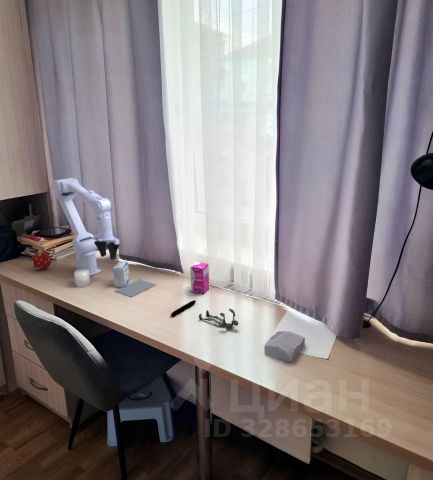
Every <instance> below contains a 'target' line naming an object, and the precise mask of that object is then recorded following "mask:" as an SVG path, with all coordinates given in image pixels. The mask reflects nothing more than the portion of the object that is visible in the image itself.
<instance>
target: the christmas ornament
mask: <svg viewBox="0 0 433 480" xmlns="http://www.w3.org/2000/svg"><path fill="white" fill-rule="evenodd" d="M51 264H52V257H51V256H50V254H49V253H47V252H45V251H42V250H41V249H38V252H35V253H34V254H33V255H32V257H31V265H32V267H33V268H35V269H36V270H39V271H44V270H46V269H48V268H49V267H50V266H51Z"/></svg>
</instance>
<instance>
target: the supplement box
mask: <svg viewBox="0 0 433 480" xmlns="http://www.w3.org/2000/svg"><path fill="white" fill-rule="evenodd" d="M209 270H210V268H209V263H206V262H199V261H195V262H194V263H193V264H191V265H190V266H189V272H190V274H189V275H190V292H191V293H194V294H200V295H205V293H207V292H208V291H209V290H210V277H209V276H210V275H209V274H210V272H209Z"/></svg>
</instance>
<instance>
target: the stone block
mask: <svg viewBox="0 0 433 480" xmlns="http://www.w3.org/2000/svg"><path fill="white" fill-rule="evenodd" d="M305 341H306V338H305V336H303V335H301V334H298V333H297V332H296V333H295V332H292V331H290V330H289V331H287V330H286V331H285V330H281V331H280V330H279V331H277V332H275V333H274V334H273V335H271V337H270V338H269V339H268V340H267V341H266V343H265V344H264V352H265V355H266V356H268V357H270V358H273V359H277V360H280V361H284V362H287V363H292V362H293V361H294V360H295V358H296V357H297V355H298V354H299V353H300V351H301V350H302V348H303V347H304V346H305V344H306V343H305Z"/></svg>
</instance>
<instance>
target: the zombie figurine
mask: <svg viewBox="0 0 433 480" xmlns="http://www.w3.org/2000/svg"><path fill="white" fill-rule="evenodd" d="M228 311H229V312H230V313H232V320H231V322H230V323H227V321H226V314H225V313H223V312H220V313H219V315H220V316H221V317H222V318H221V317H220V316H218V315H212V314H210V312H209V310H208V309H206V311H205V314H206V315H205V316H206V317H207V318H206V317H204V318H203V317H202V313H200V314H198V319H199V321H209V322H211V321H213V322H215V323H216V324H218V326H219V327H223V328H225V329H232V328H233V327H234V326H235V327H237V326H239V321H238V320H235V318H236V313H235V311H234V309H232V308H228Z"/></svg>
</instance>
